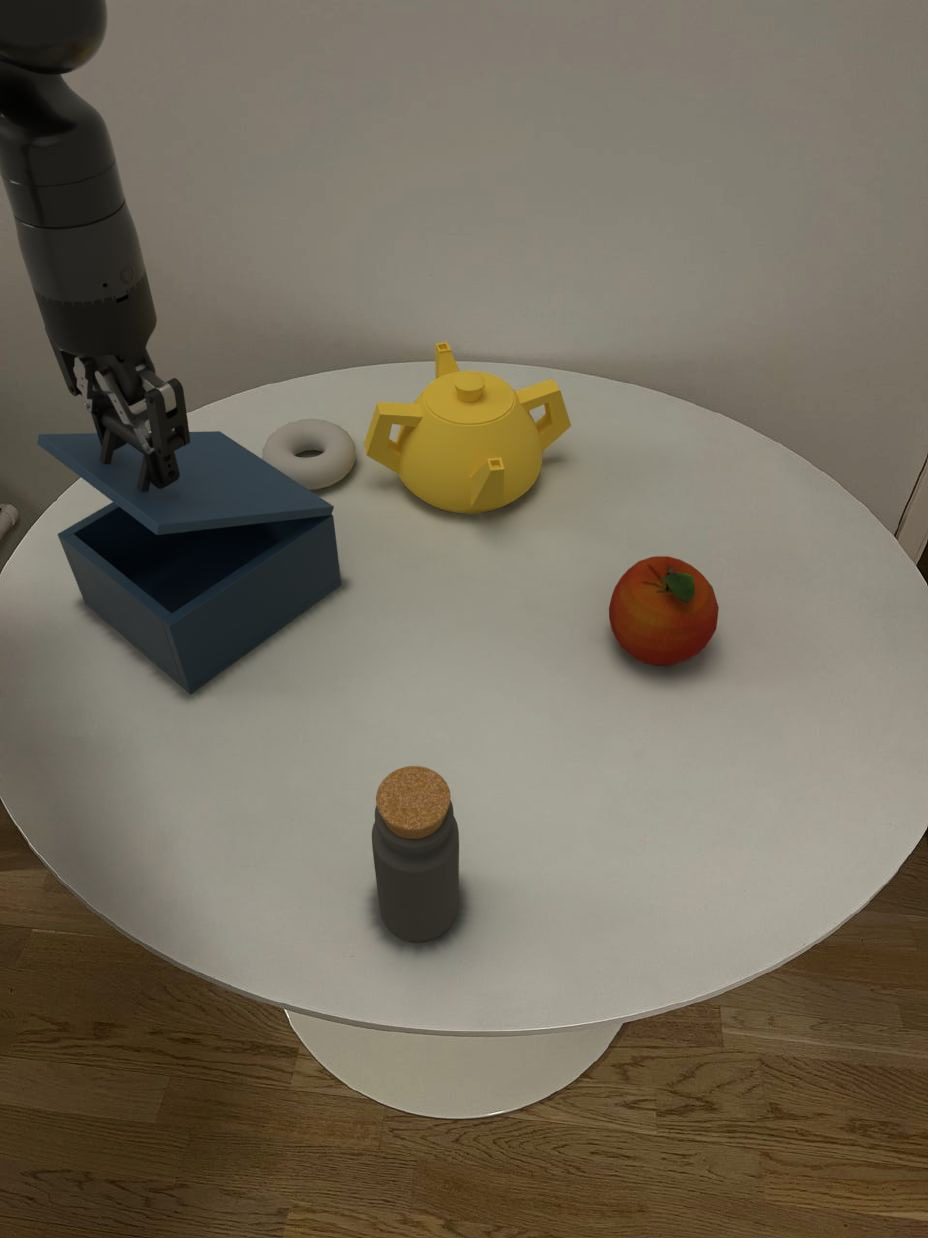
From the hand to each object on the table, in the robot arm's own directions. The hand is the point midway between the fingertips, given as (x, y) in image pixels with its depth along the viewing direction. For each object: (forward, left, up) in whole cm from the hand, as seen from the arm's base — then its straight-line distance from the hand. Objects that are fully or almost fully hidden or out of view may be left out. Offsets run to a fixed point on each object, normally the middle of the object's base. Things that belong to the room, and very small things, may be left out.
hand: (141, 463), depth 80 cm
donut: (+23, +3, -18) cm, 30 cm away
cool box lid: (+4, -1, -4) cm, 6 cm away
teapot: (+31, -12, -18) cm, 38 cm away
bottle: (-13, -35, -18) cm, 41 cm away
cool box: (+3, -1, -18) cm, 18 cm away
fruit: (+20, -39, -18) cm, 47 cm away
